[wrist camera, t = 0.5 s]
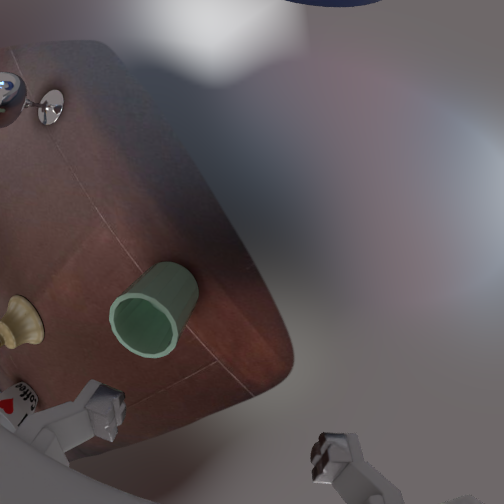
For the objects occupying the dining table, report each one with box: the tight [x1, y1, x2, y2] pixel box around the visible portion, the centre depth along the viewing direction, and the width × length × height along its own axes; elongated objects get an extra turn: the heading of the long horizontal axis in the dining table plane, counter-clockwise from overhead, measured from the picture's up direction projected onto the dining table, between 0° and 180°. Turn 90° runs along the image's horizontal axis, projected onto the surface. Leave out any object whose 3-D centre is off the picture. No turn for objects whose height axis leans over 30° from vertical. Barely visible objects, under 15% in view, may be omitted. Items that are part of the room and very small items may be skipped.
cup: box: [0, 382, 38, 433], centre depth 35 cm, size 8×8×10 cm
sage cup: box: [109, 262, 199, 358], centre depth 26 cm, size 6×6×8 cm
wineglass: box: [0, 72, 64, 128], centre depth 19 cm, size 6×6×12 cm
